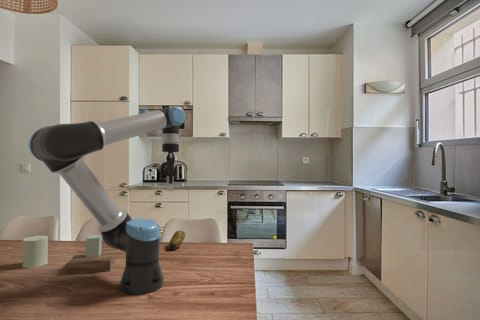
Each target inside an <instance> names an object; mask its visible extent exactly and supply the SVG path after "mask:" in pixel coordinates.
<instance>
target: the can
mask: <svg viewBox="0 0 480 320" xmlns="http://www.w3.org/2000/svg"><path fill="white" fill-rule="evenodd" d="M48 247H49V236H48V235H34V236H27V237H24V238H22V265H21V267H22V268H23V269H24V268H25V269H35V268H40V267H43V266H45V265H47V264H48V262H49V261H48V260H49V257H48V256H49V255H48V251H49V248H48Z"/></svg>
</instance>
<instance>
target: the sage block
mask: <svg viewBox="0 0 480 320" xmlns="http://www.w3.org/2000/svg"><path fill="white" fill-rule="evenodd" d="M102 241H103V239H102V236H101V234H100V235H99V234H98V235H88V236H87V238H86V244H85V251H86V257H99V256H100V255H101V252H102V250H103V249H102V246H103V244H102V243H103V242H102Z"/></svg>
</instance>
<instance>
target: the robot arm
mask: <svg viewBox="0 0 480 320" xmlns="http://www.w3.org/2000/svg"><path fill="white" fill-rule="evenodd" d="M185 120H186V114H185V111H184V110H183V108H182V107H180V106H170V107H166V108H160V109H154V110H149V109H141V110H140V111H139V112H138V114H133V115H129V116H124V117H123V116H122V117H119V118H115V119H110V120H109V119H108V120H105V121H101V122H95V121H93V120H91V121H85V122H76V123H60V124H55V125H47V126H44V127H41V128H39V129H37V130H36V131H34V133H33V134H32V135H31V136H30V139H29V141H28V148H29V151H30V153H31V155H32V156H33V157H34V158H36V159H38V160H39V161H41V162H43V163H44V165H45V166H46V167H47V168H48V169H49V170H50V172H51V173H52V174H58V175H60V177H62V179H63V180H64V182H65V183H66V184H67V185H68V186H69V187H70V189H71V190H72V192H73V193H74V194H75V195H76V197H77V198H79V200H80V201H81V203H82V204H83V205H84V206H85V208H86V209H87V210H88V211H89V213H90V214H91V215H92V217H94V219H95V220H96V221H97V223H98V224H99V225H98V231H99V233H100V235H101V236H102V241H103V243H104V244H105V245H106V246H108V247H110V248H111V249H116V250H118V251H121V252H124V253H125V267H124V270H123V273H122V275H121V278H120V282H119V283H120V284H119V290H120V291H121V292H123V293H125V294H128V295H143V294H148V293H151V292H155V291H157V290H159V289H160V287H161V288H162V287H163V286H164V284H165V277H164V273H163V271H162V266H161V265H160V242H161V240H160V238H161V231H160V230H161V229H160V224H159V222H157V221H156V220H154V219H152V218H151V219H150V218H141V217H140V218H134V219H133V218H132V217H131V216H130V215H129V213H128V212H127V210H125V209H120V208H119V206H118V205H117V204H116V202H115V201H114V200H113V198H112V197H111V196H110V194H109V193H108V191H107V189H106V188H105V187H104V186H103V184H102V183H101V181H100V180H98V178H97V176H96V175H95V174H94V172H93V171H92V169H91V168H90V166H89V165H88V164H87V163H86V161H85V160H84V159H85V156H88V155H89V154H92V153H95V152H98V151H102V150H104V147H105V146H107V145H111V144H114V143H115V144H116V143H118V142H121V141H125V140H129V139H132V138H135V137H138V136H142V135H145V134H150V133H152V132H157V131H160V130H162V131H161V132H162V134H161V142H162V145H161V151H162V152H163V153H167V155H166V156H165V160H166V165H167V166H166V167H167V168H166V169H167V171H166V173H165V177H166V189H167V190H166V191H167V192H174V191H175V190H174V189H175V186H174V185H175V167H174V166H175V164H176V162H175V160H176V156H175V153H179V152H180V144H179V143H180V139H181V136H180V126H181V125H183V124H184V122H185Z"/></svg>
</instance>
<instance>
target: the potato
mask: <svg viewBox="0 0 480 320" xmlns="http://www.w3.org/2000/svg"><path fill="white" fill-rule="evenodd" d="M185 237H186V232H185V231H183V230H177V231H175V232H174V233H173V235H172V236H171V238H170V240H169V243H168V247H169V249H171V250H172V251H173V250H176V249H178V248H179V247H180V246H181V245H182V244H183V243H184V242H183V241H185Z"/></svg>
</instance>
